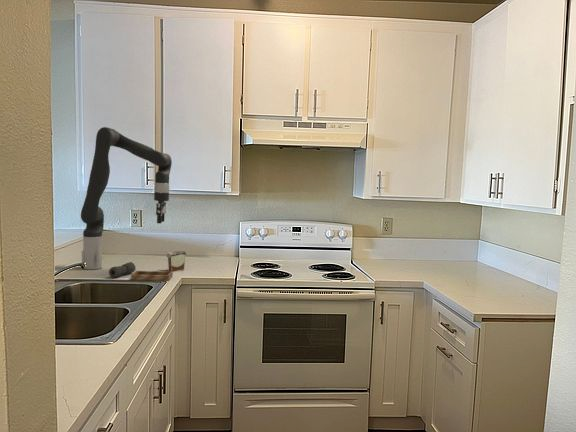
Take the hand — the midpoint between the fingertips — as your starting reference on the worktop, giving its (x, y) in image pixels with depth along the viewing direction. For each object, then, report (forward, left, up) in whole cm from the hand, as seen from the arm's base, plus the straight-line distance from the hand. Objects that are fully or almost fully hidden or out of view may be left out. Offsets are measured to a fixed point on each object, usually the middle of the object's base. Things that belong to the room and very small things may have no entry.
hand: (160, 222), depth 247 cm
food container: (+6, +6, -27) cm, 28 cm away
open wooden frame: (-1, -15, -26) cm, 30 cm away
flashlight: (-19, -16, -28) cm, 37 cm away
